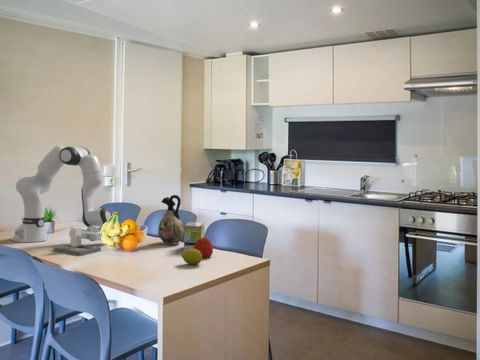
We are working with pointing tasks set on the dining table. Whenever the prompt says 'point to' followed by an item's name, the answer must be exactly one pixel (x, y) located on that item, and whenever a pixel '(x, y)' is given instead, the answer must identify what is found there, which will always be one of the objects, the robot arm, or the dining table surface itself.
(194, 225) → the tea box
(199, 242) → the apple
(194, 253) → the lemon
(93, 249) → the console
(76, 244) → the fader knob
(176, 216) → the ceramic jug
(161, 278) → the dining table surface
